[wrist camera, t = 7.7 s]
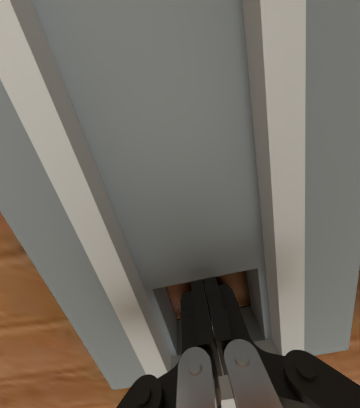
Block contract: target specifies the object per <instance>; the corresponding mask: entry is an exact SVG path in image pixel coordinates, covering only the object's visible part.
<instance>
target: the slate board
mask: <svg viewBox="0 0 360 408" xmlns="http://www.w3.org/2000/svg"><path fill="white" fill-rule="evenodd" d="M0 212H1V213H2V215H3V217H4V218H5V220H6V221H7V223H8V224H9V226H10V228H11V229H12V231H13V232H14V234H15V236H16V237H17V239H18V240H19V242H20V243H21V245H22V247H23V248H24V250H25V251H26V253H27V255H28V256H29V258H30V259H31V261H32V263H33V264H34V266H35V267H36V269H37V270H38V272H39V274H40V275H41V277H42V278H43V280H44V282H45V283H46V285H47V286H48V288H49V290H50V291H51V293H52V294H53V296H54V297H55V299H56V301H57V302H58V304H59V305H60V307H61V309H62V310H63V312H64V313H65V315H66V317H67V318H68V320H69V321H70V323H71V324H72V326H73V328H74V329H75V331H76V332H77V334H78V336H79V337H80V339H81V340H82V342H83V343H84V345H85V347H86V348H87V350H88V351H89V353H90V355H91V356H92V358H93V359H94V361H95V363H96V364H97V366H98V367H99V369H100V370H101V372H102V374H103V375H104V377H105V378H106V380H107V382H108V383H109V385H110V386H111V388H112V390H116V389H122V388H127V387H131V386H132V385H133V383H134V382H135V381H136V380H137V379H138V378H140V377H141V376H143V375H146V374H151V375H154V376H155V377H156V378H159V377H160V376H162V375H164V374H165V373H167V372H169V371H170V370H171V369H173V368H174V367H175V365H176V364H177V363H178V361H179V359H180V356H181V353H182V333H181V319H180V320H177V319H176V316H175V313H174V310H173V307H172V304H171V301H170V298H169V295H168V292H167V289H166V287H167V286H172V285H177V284H182V283H187V282H191V281H195V280H200V279H204V278H209V277H214V276H215V277H216V276H221V275H226V274H231V273H236V272H241V271H246V276H247V283H248V291H249V298H250V306H248V307H243V308H240V311H241V314H242V316H243V319H244V322H245V324H246V327H247V330H248V333H249V335H250V337H251V339H252V341H253V342H254V343H255V345H257V346H258V347H259V348H260V349H262V350H264V351H266V352H268V353H272V354H277V355H283V356H285V355H286V354H287V353H288V352H289V351H291V350H303V351H306V352H309V353H310V354H312V355H314V356H315V355H321V354H327V353H333V352H338V351H344V350H349V342H350V335H351V327H352V320H353V312H354V305H355V297H356V290H357V282H358V275H359V268H360V0H0ZM217 349H218V348H217ZM218 354H219V352H218ZM219 359H220V357H219ZM220 364H221V361H220ZM221 370H222V375H223V376H218V379H219V384H220V390H221V401H222V408H236V406H235V402H234V398H233V394H232V390H231V385H230V381H229V377H228V375H224V373H223V369H222V365H221Z"/></svg>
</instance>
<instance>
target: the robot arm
mask: <svg viewBox="0 0 360 408" xmlns="http://www.w3.org/2000/svg"><path fill="white" fill-rule="evenodd" d="M204 284H205V287H204ZM205 289H206V291H205ZM191 290H192V291H189V292H184V293H183V296H182V298H181V333H182V353H181V356H180V359H179V361H178V363H177V364H176V365H175V367H174V368H173V369H171V370H170V371H169V372H167V373H165V374H164V375H162V376H160V377H159V378H156V377H155V376H154V375H151V374H146V375H143V376H141V377H140V378H138V379H137V380H136V381H135V382H134V383H133V385H132V386H131V388H130V389H129V390H128V392H127V393H126V395H125V396H124V398H123V399H122V400H121V402H120V403H119V405H118V406H117V408H222V401H221V390H220V384H219V379H218V376H223V375H222V370H221V365H222V369H223V373H224V375H228V377H229V381H230V385H231V390H232V394H233V398H234V402H235V406H236V408H360V386H359V385H358V384H356V383H355V382H353V381H352V380H350V379H349V378H347V377H346V376H344V375H343V374H341V373H340V372H338V371H337V370H335V369H334V368H332V367H330V366H329V365H327V364H326V363H324V362H323V361H321V360H320V359H318V358H317V357H315V356H314V355H312V354H310V353H309V352H306V351H303V350H291V351H289V352H288V353H287V354H286V355H285V356H283V355H277V354H272V353H268V352H266V351H264V350H262V349H260V348H259V347H258V346H257V345H255V343H254V342H253V341H252V339H251V337H250V335H249V333H248V330H247V327H246V324H245V322H244V319H243V316H242V314H241V311H240V308H239V306H238V303H237V301H236V297H235V295H234V292H233V290H232V289H231V288H230V287H229V286H228V285H227V284H224V285H219V286H218V283H217V280H216V277H215V276H214V277H209V278H204V282H203V279H200V280H195V281H191ZM206 294H207V295H206ZM217 348H218V349H217ZM218 352H219V354H218ZM219 357H220V359H219ZM220 361H221V364H220Z"/></svg>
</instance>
